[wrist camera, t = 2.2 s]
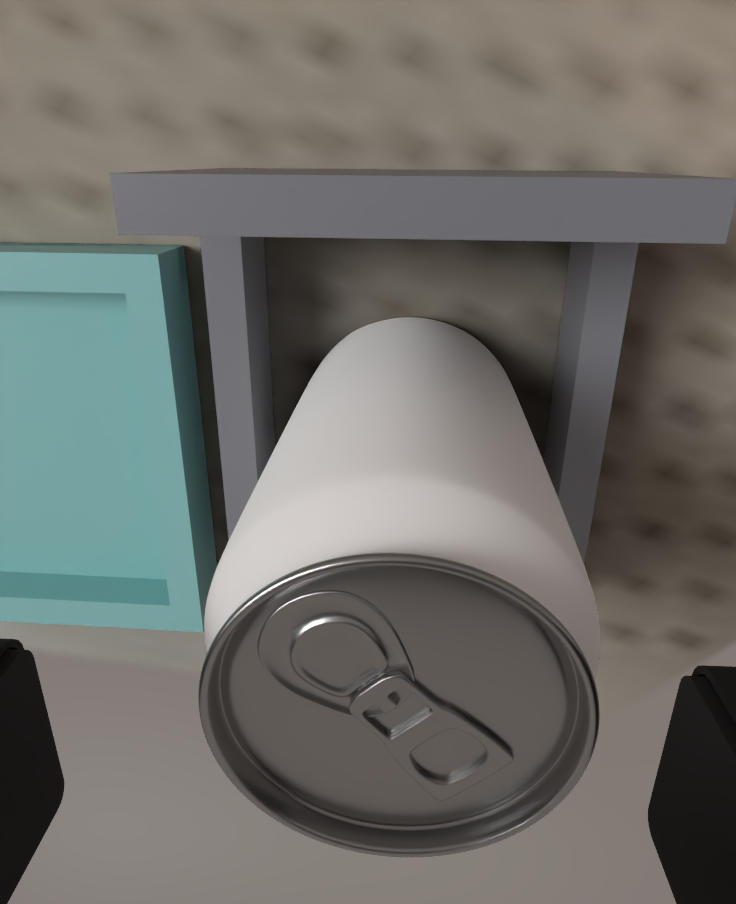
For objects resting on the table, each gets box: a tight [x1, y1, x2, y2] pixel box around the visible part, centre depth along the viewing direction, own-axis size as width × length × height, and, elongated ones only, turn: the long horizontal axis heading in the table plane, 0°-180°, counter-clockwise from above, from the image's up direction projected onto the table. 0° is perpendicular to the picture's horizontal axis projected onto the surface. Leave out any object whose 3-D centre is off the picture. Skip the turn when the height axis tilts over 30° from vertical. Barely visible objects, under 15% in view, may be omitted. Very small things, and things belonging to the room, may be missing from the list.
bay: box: [110, 168, 736, 565], centre depth 16 cm, size 10×12×7 cm
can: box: [199, 317, 601, 857], centre depth 15 cm, size 6×6×12 cm
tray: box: [0, 242, 217, 632], centre depth 20 cm, size 12×12×2 cm
